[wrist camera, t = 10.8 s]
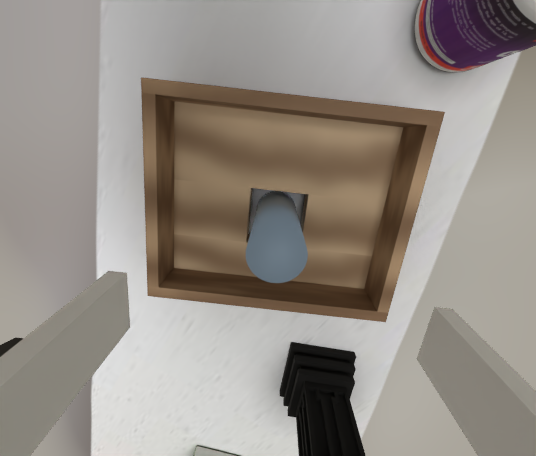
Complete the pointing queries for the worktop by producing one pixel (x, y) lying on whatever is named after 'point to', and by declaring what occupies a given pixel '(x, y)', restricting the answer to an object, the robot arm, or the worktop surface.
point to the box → (280, 179)
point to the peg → (276, 240)
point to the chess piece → (321, 400)
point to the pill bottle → (473, 31)
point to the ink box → (208, 452)
